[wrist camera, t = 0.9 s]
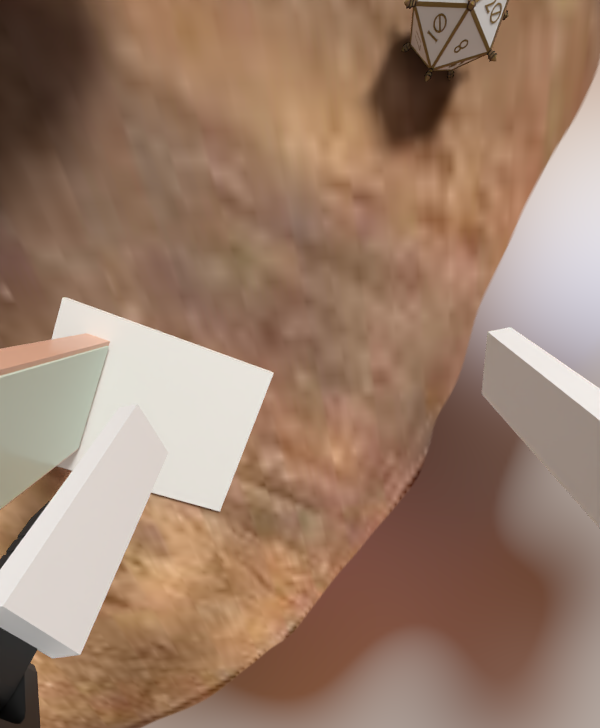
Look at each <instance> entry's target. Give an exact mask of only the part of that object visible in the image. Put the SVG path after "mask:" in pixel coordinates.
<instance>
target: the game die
mask: <svg viewBox="0 0 600 728" xmlns="http://www.w3.org/2000/svg"><path fill="white" fill-rule="evenodd" d="M508 2H509V0H406V1H405V2H404V3H405V5H406V8H409V9H410V8H411V7H413V13H412V24H411V36H410V42H409V43H406V44H405V45H404V46H403V48H402V51H404V52H407V50H409V48H410V47H412V48H413V50H414V51H415V52H416V53H417V55H418V56H419V57H420V58H421V59H422V61H423V62H424V63H425V64H426V66H427V67H428V68H429V70H428V71H427V72H426V75H425V82H426V81H428V80H429V79H431V76H432V72H433V71H449V72H448V76H447V78H448V79H449V80H451V78H452V77H453V76H454V75H453V73H454V71H453V70H454V69H456V68H458V67H460V66H462V65H465V64H467V63H469V62H471V61H474V60H476V59H478V58H480V57H482V56H485V55H488V59H489V60H490V61H496V55H497V53H495V51H492V47H493V44H494V41H495V38H496V36H497V33H498V30H499V27H500V24H501V22H502V20H505V18H507V17H508V10H507V11H506V8H507V5H508Z"/></svg>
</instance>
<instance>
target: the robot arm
mask: <svg viewBox="0 0 600 728" xmlns="http://www.w3.org/2000/svg"><path fill="white" fill-rule="evenodd" d="M482 395H483V396H484V397H485V398H486V399H487V400H488V402H489V403H490V404H491V405H492V406H493V407H494V409H495V410H496V411H497V412H498V413H499V414H500V415H501V417H502V418H503V419H504V420H505V421H506V422H507V423H508V424H509V426H510V427H511V428H512V429H513V430H514V431H515V432H516V434H517V435H518V436H519V437H520V438H521V439H522V440H523V442H524V443H525V444H526V445H527V446H528V447H529V448H530V449H531V451H532V452H533V453H534V454H535V455H536V456H537V457H538V459H539V460H540V461H541V462H542V463H543V464H544V465H545V467H546V468H547V469H548V470H549V471H550V472H551V473H552V475H553V476H554V477H555V478H556V479H557V480H558V481H559V483H560V484H561V485H562V486H563V487H564V488H565V489H566V491H567V492H568V493H569V494H570V495H571V496H572V497H573V498H574V500H575V501H576V502H577V503H578V504H579V505H580V506H581V508H582V509H583V510H584V511H585V512H586V513H587V514H588V516H589V517H590V518H591V519H592V520H593V521H594V522H595V523H596V525H597V526H598V527H599V528H600V388H598V387H597V386H595V385H594V384H592V383H591V382H589V381H588V380H586V379H585V378H584V377H582V376H581V375H579V374H578V373H576V372H575V371H573V370H572V369H570V368H569V367H567V366H566V365H565V364H563V363H562V362H560V361H559V360H557V359H556V358H554V357H553V356H552V355H550V354H549V353H547V352H546V351H544V350H543V349H541V348H540V347H539V346H537V345H535V344H534V343H532V342H531V341H530V340H528V339H527V338H525V337H524V336H523V335H521V334H520V333H518V332H517V331H515V330H514V329H512V328H511V327H509V328H504V329H499V330H494V331H489V332H488V334H487V344H486V354H485V364H484V376H483V386H482ZM167 455H168V451H167V450H166V448H165V447H164V445H163V443H162V442H161V440H160V439H159V437H158V435H157V434H156V432H155V431H154V429H153V427H152V426H151V424H150V423H149V421H148V419H147V418H146V416H145V415H144V413H143V412H142V410H141V408H140V407H139V405H138V404H133V405H128V406H123V407H119V408H118V410H117V411H116V412H115V414H114V415H113V416H112V418H111V419H110V420H109V422H108V423H107V425H106V426H105V427H104V429H103V430H102V431H101V433H100V434H99V435H98V437H97V438H96V440H95V441H94V442H93V444H92V445H91V446H90V448H89V449H88V450H87V452H86V453H85V455H84V456H83V457H82V459H81V460H80V461H79V463H78V464H77V465H76V467H75V468H74V470H73V471H72V472H71V474H70V475H69V476H68V478H67V479H66V480H65V482H64V483H63V485H62V486H61V487H60V489H59V490H58V491H57V493H56V494H55V495H54V497H53V498H52V500H51V501H49V502H48V503H47V504H46V505H45V506H44V507H43V508H41V509H40V510H39V511H38V512H37V513H36V514H35V515H34V516H33V517H32V518H31V519H30V520H29V522H28V523H27V524H26V526H25V527H24V528H23V530H22V531H21V532H20V534H19V535H18V539H17V540H14V542H13V543H12V544H11V546H10V547H9V548H8V550H7V551H6V552H7V553H6V555H3V556H2V558H1V559H0V728H40V715H39V698H38V681H37V671H36V669H35V666H34V665H33V664H31V663H30V662H31V660H32V658H33V656H34V655H35V653H36V651H37V650H39V651H40V652H42V653H44V654H46V655H47V656H49V657H51V658H60V657H68V656H75V655H80V654H81V652H82V650H83V648H84V645H85V643H86V641H87V638H88V636H89V634H90V631H91V629H92V627H93V625H94V622H95V620H96V618H97V615H98V613H99V611H100V609H101V606H102V604H103V602H104V599H105V597H106V595H107V592H108V590H109V588H110V586H111V583H112V581H113V579H114V576H115V574H116V572H117V570H118V567H119V565H120V563H121V560H122V558H123V556H124V553H125V551H126V549H127V547H128V544H129V542H130V540H131V537H132V535H133V533H134V531H135V528H136V526H137V524H138V521H139V519H140V517H141V515H142V512H143V510H144V508H145V505H146V503H147V501H148V498H149V496H150V494H151V492H152V489H153V487H154V485H155V482H156V480H157V478H158V476H159V473H160V471H161V469H162V466H163V464H164V462H165V459H166V457H167Z"/></svg>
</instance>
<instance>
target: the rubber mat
mask: <svg viewBox="0 0 600 728" xmlns="http://www.w3.org/2000/svg"><path fill="white" fill-rule="evenodd" d="M85 333H88V334H91V335H93V336H96V337H99V338H102V339H105V340H108V341H110V343H109V348H108V351H107V355H106V358H105V361H104V365H103V368H102V371H101V375H100V378H99V381H98V385H97V388H96V392H95V395H94V398H93V402H92V405H91V408H90V412H89V415H88V418H87V422H86V425H85V429H84V432H83V435H82V439H81V442H80V445H79V448H78V450H76V451H75V452H74V453H73V454H71V455H70V456H69V457H67V458H66V459H65V460H64V461H62V462H61V463H60V464H59V465H57V467H61V468H65V469H68V470H72V471H73V470H74V468H75V467H76V465H77V464H78V463H79V461H80V460H81V459H82V457H83V456H84V455H85V453H86V452H87V450H88V449H89V448H90V446H91V445H92V444H93V442H94V441H95V440H96V438H97V437H98V435H99V434H100V433H101V431H102V430H103V429H104V427H105V426H106V425H107V423H108V422H109V420H110V419H111V418H112V416H113V415H114V414H115V412H116V411H117V410H118V408H119V407H123V406H128V405H133V404H138V405H139V407H140V408H141V410H142V412H143V413H144V415H145V416H146V418H147V419H148V421H149V423H150V424H151V426H152V427H153V429H154V431H155V432H156V434H157V435H158V437H159V439H160V440H161V442H162V443H163V445H164V447H165V448H166V450H167V451H168V455H167V457H166V459H165V462H164V464H163V466H162V469H161V471H160V473H159V476H158V478H157V480H156V482H155V485H154V487H153V489H152V492H151V493H155V494H158V495H162V496H166V497H169V498H173V499H176V500H180V501H184V502H187V503H191V504H194V505H198V506H202V507H205V508H209V509H212V510H216V511H220V510H221V507H222V505H223V502H224V500H225V497H226V494H227V492H228V489H229V487H230V484H231V482H232V479H233V476H234V474H235V471H236V469H237V466H238V464H239V461H240V458H241V456H242V453H243V451H244V448H245V446H246V443H247V440H248V438H249V435H250V433H251V430H252V428H253V425H254V422H255V420H256V417H257V415H258V412H259V410H260V407H261V404H262V402H263V399H264V397H265V394H266V392H267V389H268V386H269V384H270V381H271V379H272V376H273V372H271V371H268V370H265V369H263V368H260V367H257V366H254V365H252V364H249V363H246V362H243V361H241V360H238V359H235V358H232V357H230V356H227V355H224V354H221V353H219V352H216V351H213V350H210V349H207V348H205V347H202V346H199V345H196V344H194V343H191V342H188V341H185V340H183V339H180V338H177V337H174V336H172V335H169V334H166V333H163V332H161V331H158V330H155V329H152V328H149V327H147V326H144V325H141V324H138V323H136V322H133V321H130V320H127V319H125V318H122V317H119V316H116V315H114V314H111V313H108V312H105V311H103V310H100V309H97V308H94V307H92V306H89V305H86V304H83V303H80V302H78V301H75V300H72V299H69V298H64V297H63V298H62V302H61V306H60V309H59V313H58V317H57V321H56V324H55V328H54V332H53V336H52V339H57V338H63V337H68V336H74V335H79V334H85ZM52 339H51V340H52Z"/></svg>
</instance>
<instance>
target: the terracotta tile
mask: <svg viewBox="0 0 600 728" xmlns="http://www.w3.org/2000/svg"><path fill="white" fill-rule="evenodd" d="M109 343H110V341H108V340H105V339H102V338H99V337H96V336H93V335H91V334H88V333H85V334H79V335H74V336H68V337H63V338H57V339H52V340H46V341H41V342H35V343H30V344H24V345H19V346H13V347H8V348H2V349H0V510H1V509H2V508H3V507H5V506H6V505H7V504H9V503H10V502H11V501H12V500H14V499H15V498H16V497H18V496H19V495H20V494H21V493H23V492H24V491H25V490H27V489H28V488H29V487H30V486H32V485H33V484H34V483H35V482H37V481H38V480H39V479H41V478H42V477H43V476H44V475H46V474H47V473H48V472H50V471H51V470H52V469H53V468H55V467H56V466H57V465H59V464H60V463H61V462H62V461H64V460H65V459H66V458H67V457H69V456H70V455H71V454H73V453H74V452H75V451H76V450H78V448H79V445H80V442H81V439H82V435H83V432H84V429H85V425H86V422H87V418H88V415H89V412H90V408H91V405H92V402H93V398H94V395H95V392H96V388H97V385H98V381H99V378H100V375H101V371H102V368H103V365H104V361H105V358H106V355H107V351H108V348H109Z"/></svg>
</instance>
